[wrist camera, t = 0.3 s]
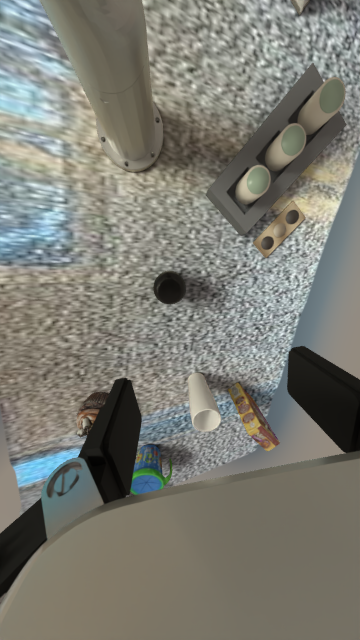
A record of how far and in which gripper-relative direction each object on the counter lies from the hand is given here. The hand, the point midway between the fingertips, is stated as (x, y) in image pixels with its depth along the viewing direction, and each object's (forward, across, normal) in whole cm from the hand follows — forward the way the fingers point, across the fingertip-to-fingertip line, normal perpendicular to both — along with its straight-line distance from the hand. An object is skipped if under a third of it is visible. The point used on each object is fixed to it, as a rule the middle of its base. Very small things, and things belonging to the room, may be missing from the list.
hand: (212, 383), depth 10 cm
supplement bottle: (+37, +2, -2) cm, 37 cm away
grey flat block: (+37, -24, -23) cm, 49 cm away
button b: (+33, -24, -23) cm, 47 cm away
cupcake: (+37, +29, +30) cm, 55 cm away
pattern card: (+37, -26, -10) cm, 46 cm away
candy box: (+37, -15, +36) cm, 54 cm away
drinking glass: (+37, -1, +28) cm, 46 cm away
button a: (+33, -17, -18) cm, 41 cm away
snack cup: (+37, +19, +54) cm, 68 cm away
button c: (+33, -30, -28) cm, 53 cm away
